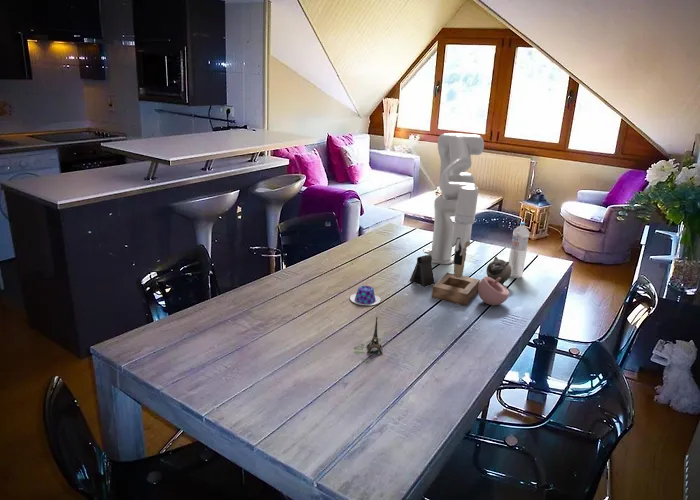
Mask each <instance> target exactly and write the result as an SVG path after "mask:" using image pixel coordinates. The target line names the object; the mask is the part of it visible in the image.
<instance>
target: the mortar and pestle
mask: <svg viewBox="0 0 700 500" xmlns="http://www.w3.org/2000/svg"><path fill="white" fill-rule="evenodd" d="M500 280H501V278H500V277H499V278H497V279H496V280H494V279H492V278H491V277H488V276H487V275H486V276H484V277H483V278H482V279H480V282H479V285H478V292H477V293H478V296H479V298H480V301H482V302H484V303H485V304H486V305H489V306H499V305H501V304H503V303H505V302H506V301H507V299H508V298H509V296H510V291H509V290H508V288H507V287H506V288H505V287H504V286H503V285H501V284H500V283H499V282H498V281H500Z"/></svg>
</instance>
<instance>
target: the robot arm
mask: <svg viewBox="0 0 700 500" xmlns="http://www.w3.org/2000/svg"><path fill="white" fill-rule="evenodd" d="M484 148H485V142H484V139H483V137H482V135H479V134H471V133H458V132H455V133H454V132H447V133H446V132H445V133H442V134H440V135H439V136H438V139H437V150H438V155H439V159H440V169H439V182H438V183H439V184H438V185H439V190H440V191H441V195H439V196H437V197H436V198H435V200H434V202H433V203H434V204H433V205H434V207H433V208H434V221H433V222H434V223H433V233H432V243H431V248H430V249H429V248H426V247H424V248H423V250H422V251H423V253H424V254H426V255H428V256H429V255H431V257H432V261H431V263H432V264H433V263H434V264H438V265H449V264H453V265H454V264H457V265H461V264H462V258H463V255H462V252H463V248H465V245H466V243H467V242H468V241H469V242H470V243H471V236H472V228H473V224H475V220H476V210H477V203H478V196H479V187H478V186H477V184H476V183H475V182H476V181H475V177H474V175H473V174H472V173H470V172H467V171H468V170H470V169H471V166H472V157H471V156H480V155H482V153H483V151H484V150H485V149H484ZM451 217H454V220H452V218H451ZM459 246H461V247H459ZM453 248H454V257H453V256H452V252H453ZM467 248H468V247H466V249H465V259H466V258H467V257H466V256H467ZM459 249H461V251H460V250H459Z"/></svg>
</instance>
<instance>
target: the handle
mask: <svg viewBox="0 0 700 500" xmlns="http://www.w3.org/2000/svg"><path fill="white" fill-rule="evenodd" d="M470 245H471V241H470V242H469V241H468V242H467V243H466V245H465V248H463V252H462V255H463V258H462V264H461V265H457V264H454V263H453V274H454V276H455V277H456V278H461V277H462V276H463V273H464V269H465V261H466V258H465V249H466V247H467V248H468V247H469V246H470ZM459 247H461V246H459ZM459 250H460V251H461V249H459Z"/></svg>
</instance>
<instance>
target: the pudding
mask: <svg viewBox="0 0 700 500" xmlns="http://www.w3.org/2000/svg"><path fill="white" fill-rule="evenodd" d="M374 290H375V289H374V287H372V286H370V285H360V287H358V289H357V291H356V293H353V294H351V295H350V297H349V300H350V301H351V302H352V303H354V304H356V305H360V306H374V305H378V304H379V303H381V301H382V299H381V297H380V296H378V295H377V294H375V291H374Z"/></svg>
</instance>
